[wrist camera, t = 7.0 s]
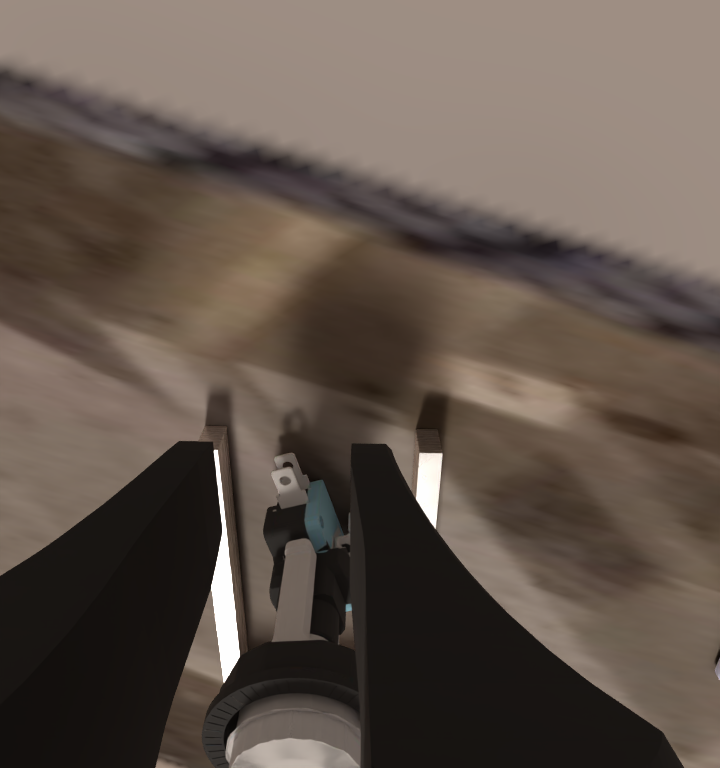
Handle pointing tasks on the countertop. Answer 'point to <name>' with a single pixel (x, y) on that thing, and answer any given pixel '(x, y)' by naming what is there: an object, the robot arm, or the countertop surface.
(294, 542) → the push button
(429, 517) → the rail
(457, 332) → the countertop surface
